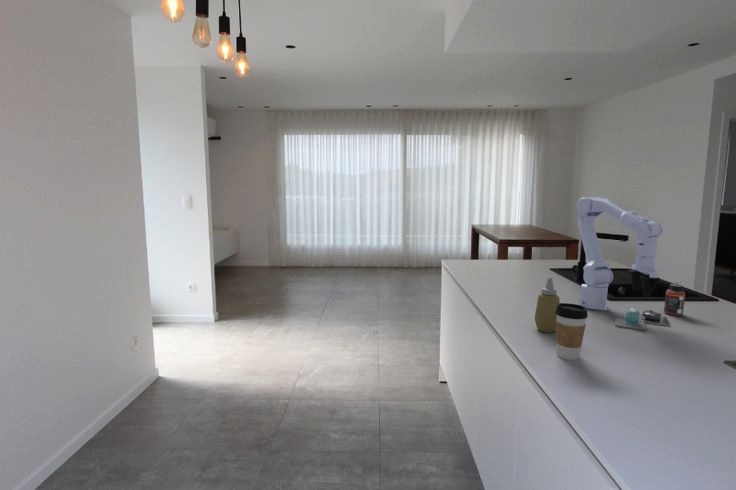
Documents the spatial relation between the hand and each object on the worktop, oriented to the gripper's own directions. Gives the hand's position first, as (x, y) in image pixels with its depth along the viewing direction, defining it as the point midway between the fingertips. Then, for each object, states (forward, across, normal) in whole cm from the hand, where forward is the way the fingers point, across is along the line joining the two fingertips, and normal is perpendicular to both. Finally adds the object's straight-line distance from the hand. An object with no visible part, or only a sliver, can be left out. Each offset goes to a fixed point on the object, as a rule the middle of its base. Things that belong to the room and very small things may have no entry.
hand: (641, 293), depth 153 cm
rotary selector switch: (+10, -2, +5) cm, 12 cm away
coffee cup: (+11, +37, -34) cm, 51 cm away
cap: (+10, +5, -4) cm, 12 cm away
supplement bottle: (+11, -12, +17) cm, 23 cm away
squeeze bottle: (+11, +15, -35) cm, 40 cm away
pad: (+10, +5, -5) cm, 12 cm away
